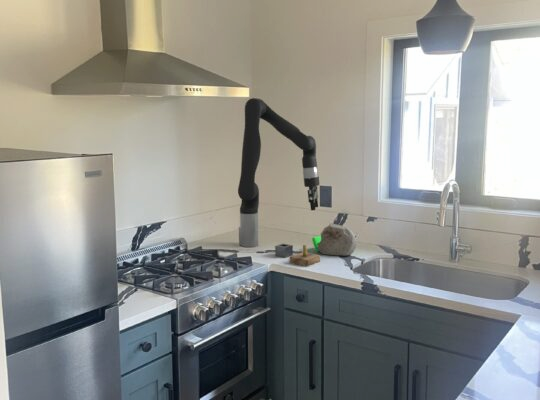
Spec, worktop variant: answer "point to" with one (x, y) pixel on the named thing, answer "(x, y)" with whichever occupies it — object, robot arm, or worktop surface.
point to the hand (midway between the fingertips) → (314, 208)
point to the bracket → (316, 241)
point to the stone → (337, 240)
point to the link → (283, 250)
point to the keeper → (304, 258)
